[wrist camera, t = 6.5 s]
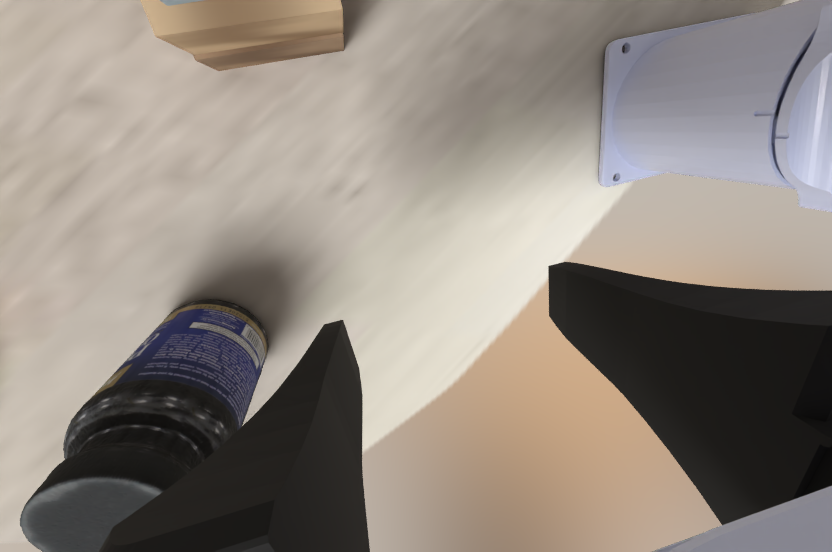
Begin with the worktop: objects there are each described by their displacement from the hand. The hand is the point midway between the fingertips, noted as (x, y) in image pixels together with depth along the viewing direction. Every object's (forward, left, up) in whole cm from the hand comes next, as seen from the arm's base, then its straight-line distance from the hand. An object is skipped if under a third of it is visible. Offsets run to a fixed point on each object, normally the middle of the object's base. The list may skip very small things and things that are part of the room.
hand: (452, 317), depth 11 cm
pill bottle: (+13, +4, -11) cm, 17 cm away
